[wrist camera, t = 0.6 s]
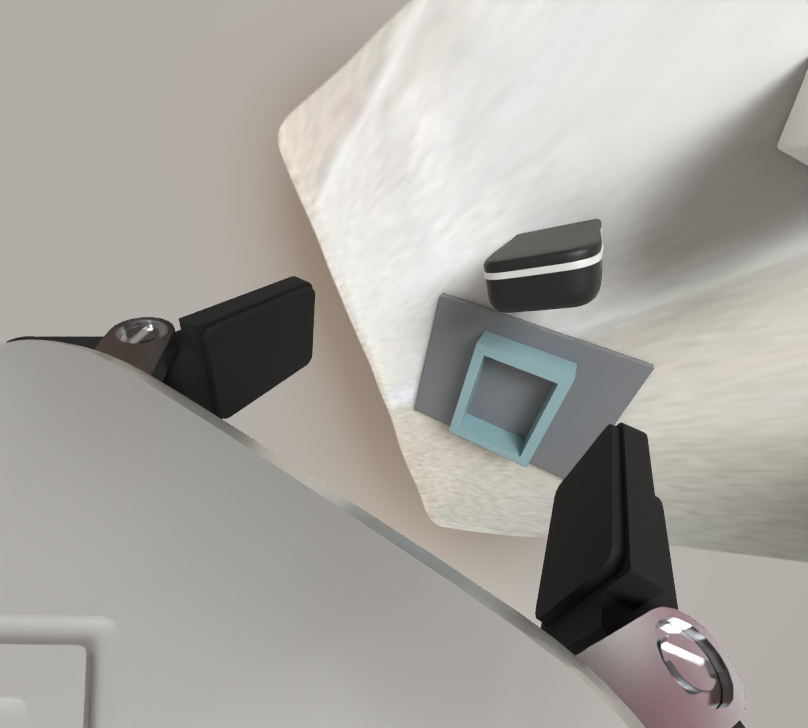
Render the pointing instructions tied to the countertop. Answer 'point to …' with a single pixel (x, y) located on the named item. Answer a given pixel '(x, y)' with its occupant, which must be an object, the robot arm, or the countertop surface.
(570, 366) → the charging dock
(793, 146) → the jar
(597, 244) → the black hard case
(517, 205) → the countertop surface
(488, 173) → the countertop surface
